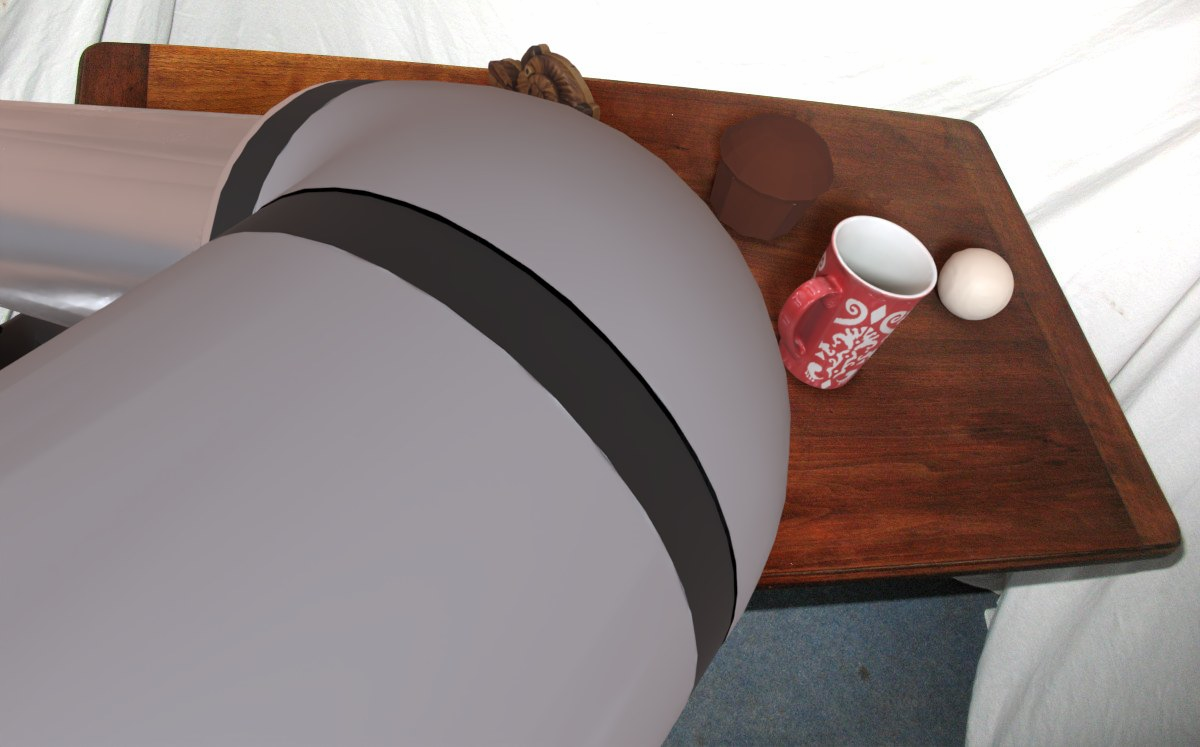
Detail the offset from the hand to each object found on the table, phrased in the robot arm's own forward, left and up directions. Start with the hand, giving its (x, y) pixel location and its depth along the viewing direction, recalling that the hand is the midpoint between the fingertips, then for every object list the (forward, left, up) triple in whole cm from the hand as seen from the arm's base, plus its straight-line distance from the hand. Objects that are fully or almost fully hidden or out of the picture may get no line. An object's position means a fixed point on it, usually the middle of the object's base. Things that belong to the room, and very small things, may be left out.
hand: (361, 299), depth 58 cm
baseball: (-12, -60, -17) cm, 63 cm away
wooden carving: (+22, -31, -17) cm, 42 cm away
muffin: (+7, -48, -17) cm, 51 cm away
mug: (-10, -39, -17) cm, 44 cm away
